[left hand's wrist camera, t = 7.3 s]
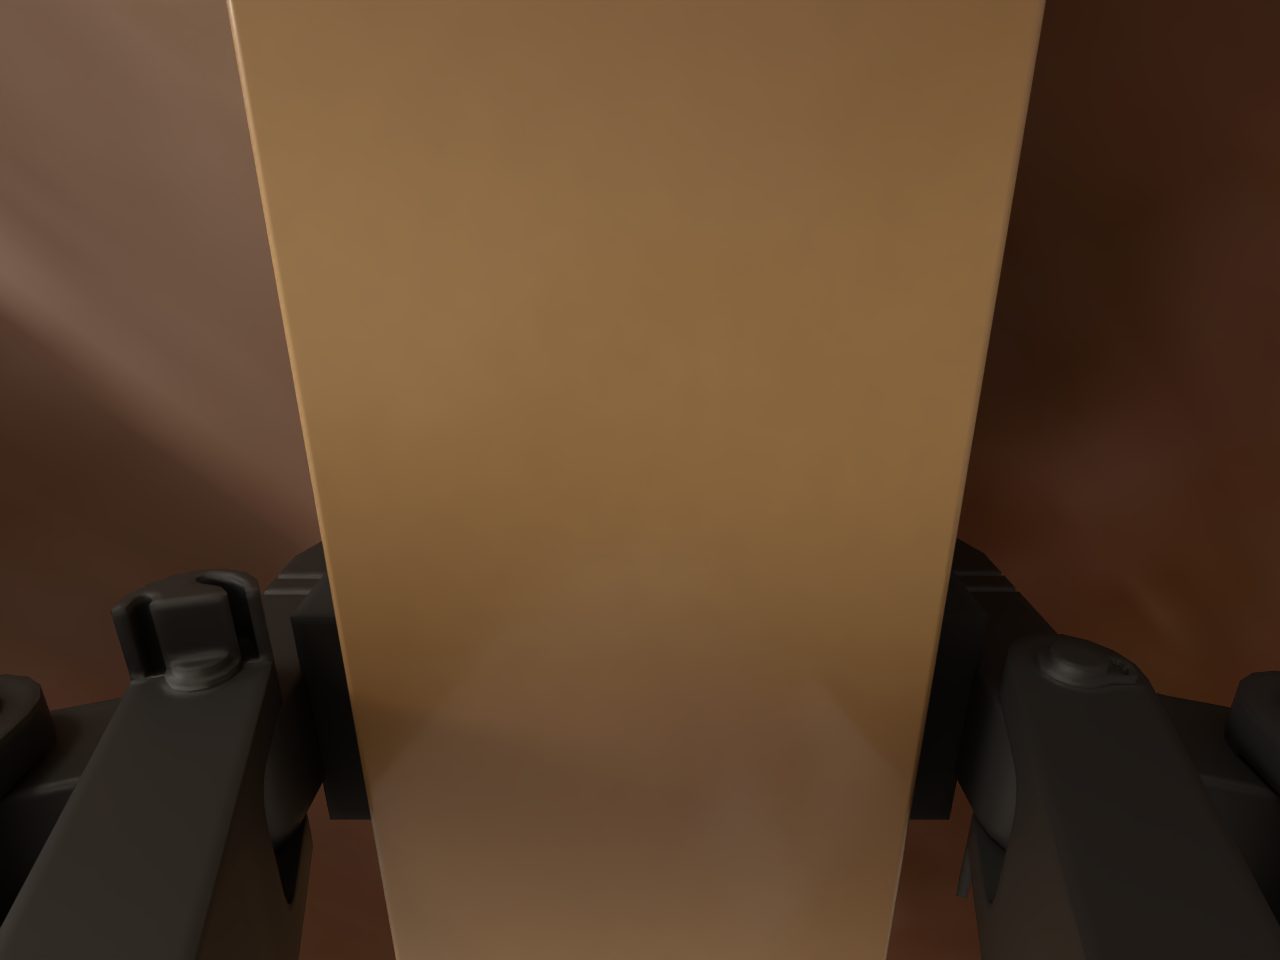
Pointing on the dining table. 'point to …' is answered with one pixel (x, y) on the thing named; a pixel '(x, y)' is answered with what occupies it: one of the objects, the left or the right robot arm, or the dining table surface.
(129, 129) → the dining table surface
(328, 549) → the post
